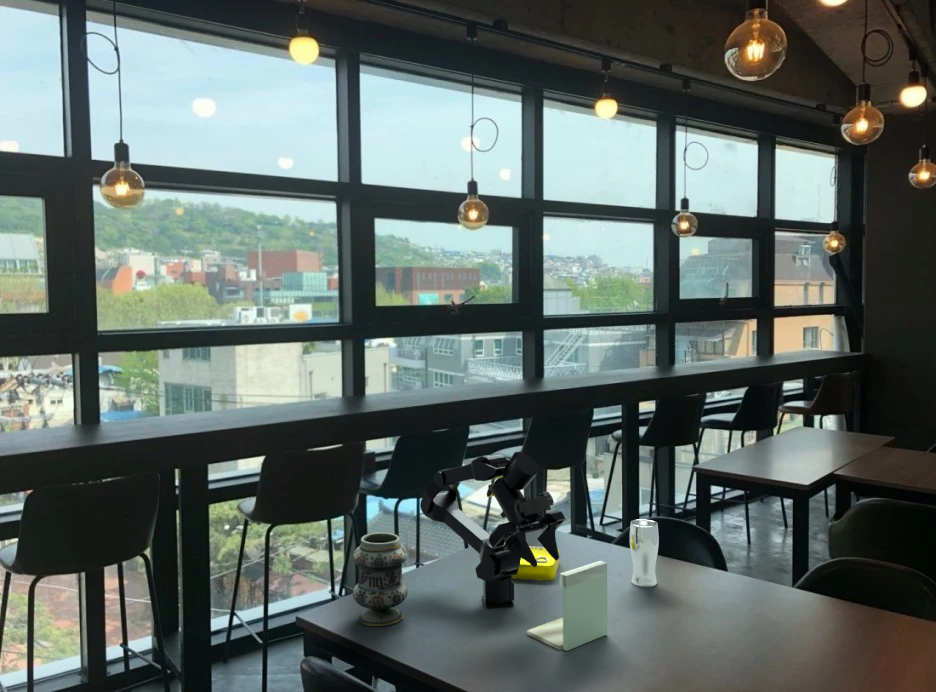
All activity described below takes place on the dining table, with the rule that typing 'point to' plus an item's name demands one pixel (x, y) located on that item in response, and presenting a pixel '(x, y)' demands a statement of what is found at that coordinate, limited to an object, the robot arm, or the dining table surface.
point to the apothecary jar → (380, 578)
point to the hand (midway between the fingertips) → (547, 562)
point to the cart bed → (549, 633)
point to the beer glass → (644, 551)
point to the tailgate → (584, 604)
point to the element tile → (538, 566)
